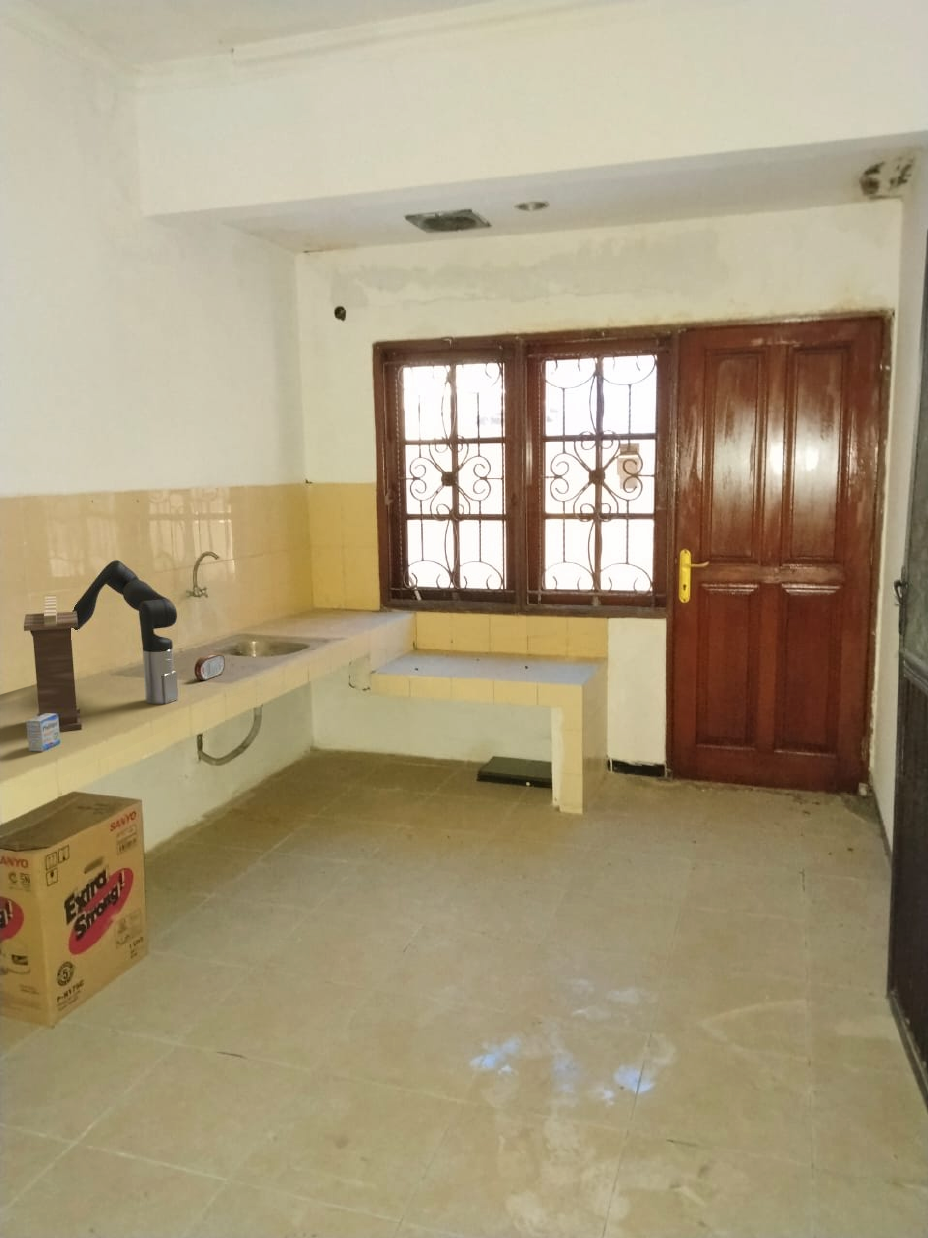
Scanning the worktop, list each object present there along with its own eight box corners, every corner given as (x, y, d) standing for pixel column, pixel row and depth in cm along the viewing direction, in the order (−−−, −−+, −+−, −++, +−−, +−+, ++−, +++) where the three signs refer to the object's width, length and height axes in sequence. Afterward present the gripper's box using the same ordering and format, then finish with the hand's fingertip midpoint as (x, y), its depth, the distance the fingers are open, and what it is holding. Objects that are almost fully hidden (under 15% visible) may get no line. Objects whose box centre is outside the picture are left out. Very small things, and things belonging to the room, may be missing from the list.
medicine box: (43, 752, 245) (40, 721, 244) (28, 751, 246) (25, 720, 244) (60, 743, 253) (58, 713, 251) (46, 742, 253) (43, 712, 252)
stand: (34, 717, 277) (25, 614, 272) (83, 712, 283) (76, 611, 277) (32, 735, 259) (23, 625, 254) (85, 729, 265) (77, 622, 259)
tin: (220, 672, 335) (219, 650, 333) (227, 673, 334) (226, 651, 332) (194, 682, 321) (192, 658, 320) (201, 683, 320) (200, 659, 319)
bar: (46, 605, 288) (45, 595, 288) (56, 604, 289) (55, 595, 289) (44, 626, 252) (43, 616, 252) (56, 626, 253) (55, 615, 253)
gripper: (27, 625, 303) (25, 615, 289) (72, 614, 310) (72, 604, 295) (34, 647, 303) (32, 638, 288) (78, 635, 309) (79, 626, 295)
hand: (52, 621), depth 292 cm, fingers open, 8 cm apart
